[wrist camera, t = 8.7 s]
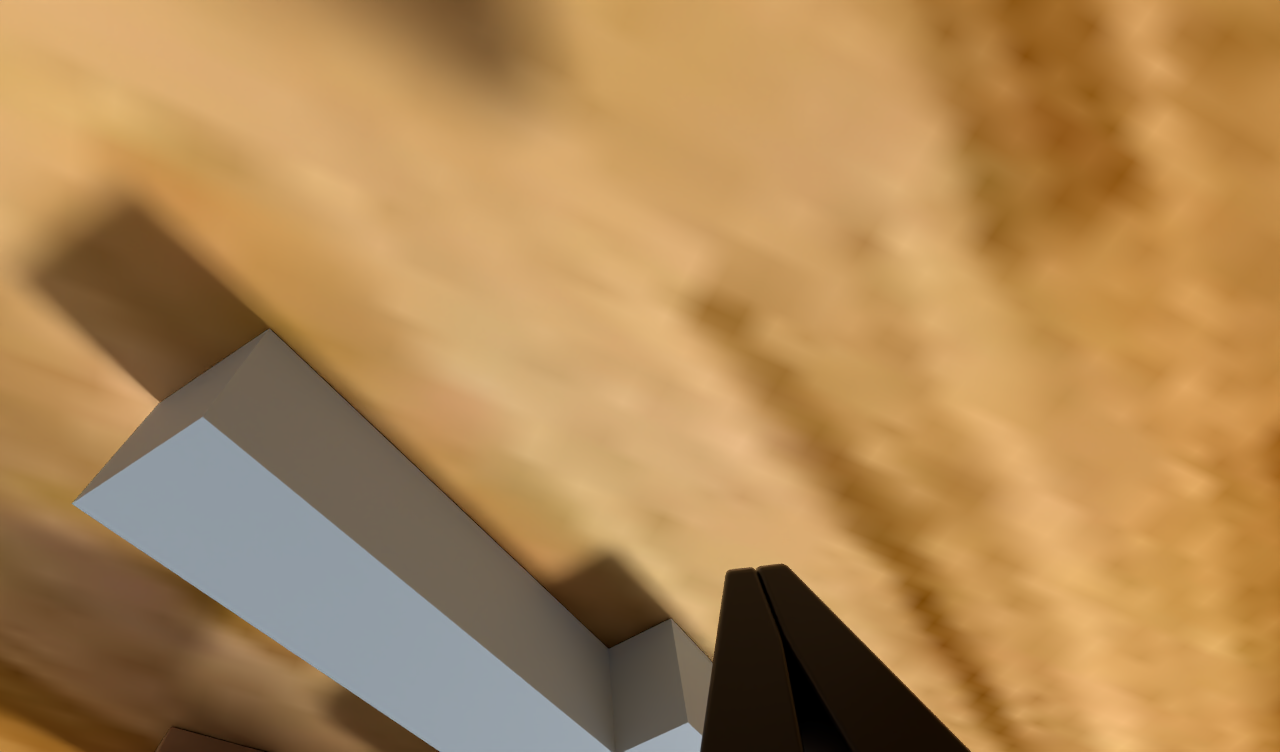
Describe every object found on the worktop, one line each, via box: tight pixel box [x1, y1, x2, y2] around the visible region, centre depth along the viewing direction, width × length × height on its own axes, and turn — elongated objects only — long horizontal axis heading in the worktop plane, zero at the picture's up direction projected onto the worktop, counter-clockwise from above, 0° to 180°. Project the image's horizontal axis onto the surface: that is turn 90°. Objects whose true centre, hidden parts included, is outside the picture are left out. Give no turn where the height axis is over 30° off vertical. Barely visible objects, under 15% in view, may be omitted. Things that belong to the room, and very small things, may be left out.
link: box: [72, 329, 713, 752], centre depth 17 cm, size 19×7×3 cm, turn 32°
